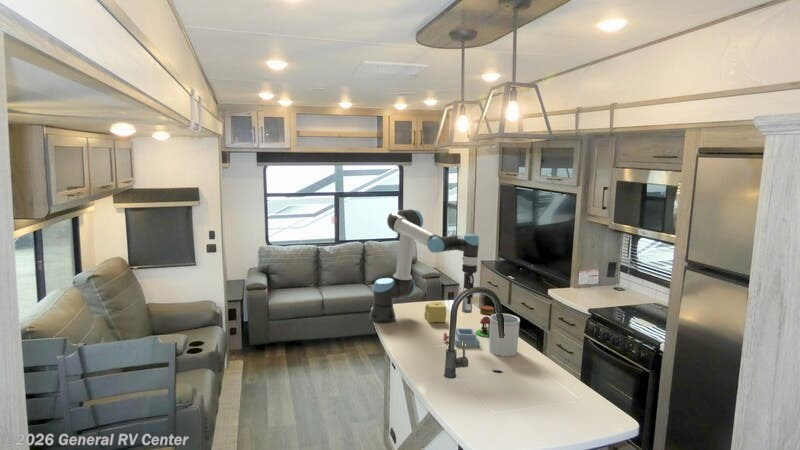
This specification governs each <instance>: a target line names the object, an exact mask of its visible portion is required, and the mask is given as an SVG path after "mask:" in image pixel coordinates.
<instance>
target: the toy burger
mask: <svg viewBox="0 0 800 450" xmlns="http://www.w3.org/2000/svg"><path fill="white" fill-rule="evenodd" d="M494 311H495V308H494V307H493V306H491V305H481V306H480V310H479V312H480V315H483V317H482V318H481V319H480V322H479V323H480V324H481V325H482V326H481V327H480V329H477V330H476V331H475V334H476V336H477V335H478V336H479V337H484V338H490V316H491V315H493V314H495V312H494Z"/></svg>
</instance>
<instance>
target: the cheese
mask: <svg viewBox="0 0 800 450" xmlns="http://www.w3.org/2000/svg"><path fill="white" fill-rule="evenodd" d="M423 316H424V319H425V318H426V319H425V321H427V323H428V322H429V323H428V324H432V323H431V322H445V323H446V319H447V307H446V306H445V305H444V303H443V302H441V301H430V303H426V305H425V307H424V315H423Z"/></svg>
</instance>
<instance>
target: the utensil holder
mask: <svg viewBox="0 0 800 450" xmlns="http://www.w3.org/2000/svg"><path fill="white" fill-rule="evenodd" d="M496 314H497V313H494V314H493V315H491V316H489V318H490V337H489V341H488V342H489V343H488V348H489V350H490V351H489V352H490V353H491V354H493V355H495V356H498V355H499V356H498V357H504V356H505V357H514V356H516V355H517V354H518V346H519V334H520V323H521V319H520V317H518V316H516V315H513V314H510V313H502V314H503V317H504V333H505V336H504V338H503V339H500V338H499V333H498V321H497V317H496ZM516 353H517V354H516ZM505 357H504V358H505Z"/></svg>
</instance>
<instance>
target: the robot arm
mask: <svg viewBox="0 0 800 450" xmlns="http://www.w3.org/2000/svg"><path fill="white" fill-rule="evenodd" d="M386 221H387V223H386V224H387V226H388V228H389V229H390V230H391V231H393V232H395V233H397V234H399V235H400V236H399V242H398V243H399V244H398V253H397V261H396V270H395V273H393V275H392V278H390V277H384V278H383V277H382V278H378V279H376V280H375V281H374V283H373V299H372V301H373V302H372V303H373V304H372V307H371V310H370V313H369V320H370V321H372V322H375V323H382V324H387V323H388V324H389V323H392V322H395V321H396V313H395V309H394V301H395V300H396V301H397V300H401V299H407V298H409V297H411V296H413V295H414V293H415V292H416V291H415V290H416V283H415V280H414V279H413V276H412V275H411V270H412V263H413V254H414V247H415V246H414V244H415V241H416V242H419V243H420V244H422V245H424V246H426V247H427V249H428V250H429V252H431V253H435V254H436V253H443V252H444V253H445V252H451V251H460V252H463V253H462V255H463V256H462V257H461V260H462V267H461V270H462V272H463V274H464V279H463V280H464V281H463V289H464V288H467V289H470V288H473V289H474V285H475V284H474V282H475V279H474V277H475V276H474V274H475V273H477V272H478V259H479V256H478V254H479V245H480V243H479V242H480V241H479V240H480V237H479V235H478V234H475V233H474V234H473V233H465V234H464V236H461V235H457V234H448V235H447V236H440V235H438V234H436V233H434V232H431V231H429V230H427V229H425V228H423V225H424V217H423V216H422V213H421V212H420V211H419V210H417V209H413V208H411V209H410V208H409V209H397V210H396V209H395V210H393V211H391V212H390V213H389V214H388V216H387V220H386ZM473 297H474V293H473V294H471V295H469V296H467V297H466V307H465V310H471V300H472V298H473ZM472 301H473V300H472Z"/></svg>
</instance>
